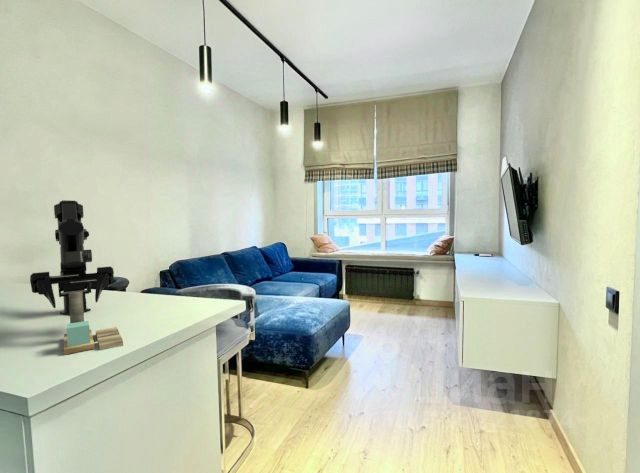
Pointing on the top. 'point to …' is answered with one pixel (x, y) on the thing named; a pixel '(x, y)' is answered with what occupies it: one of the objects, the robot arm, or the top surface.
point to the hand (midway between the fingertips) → (76, 304)
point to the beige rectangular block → (109, 338)
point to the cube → (78, 333)
